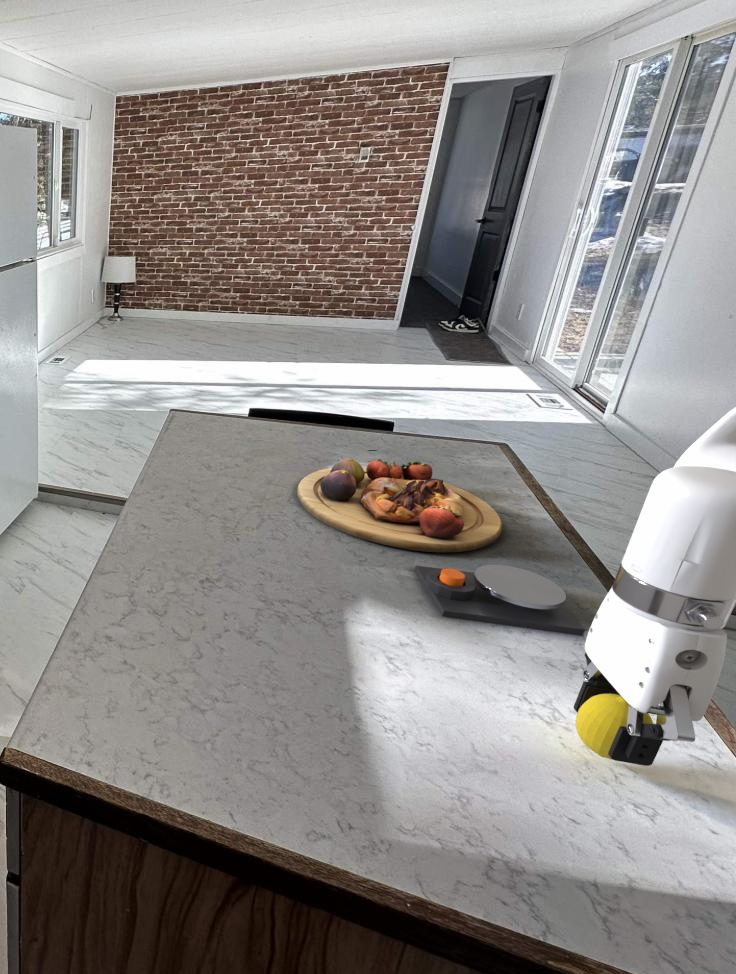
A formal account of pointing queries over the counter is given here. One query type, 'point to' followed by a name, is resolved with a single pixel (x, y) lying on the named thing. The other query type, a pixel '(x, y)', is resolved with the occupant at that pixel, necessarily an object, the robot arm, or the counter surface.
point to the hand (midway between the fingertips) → (610, 735)
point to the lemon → (603, 721)
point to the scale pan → (519, 587)
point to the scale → (491, 605)
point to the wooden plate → (399, 507)
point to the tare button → (452, 577)
